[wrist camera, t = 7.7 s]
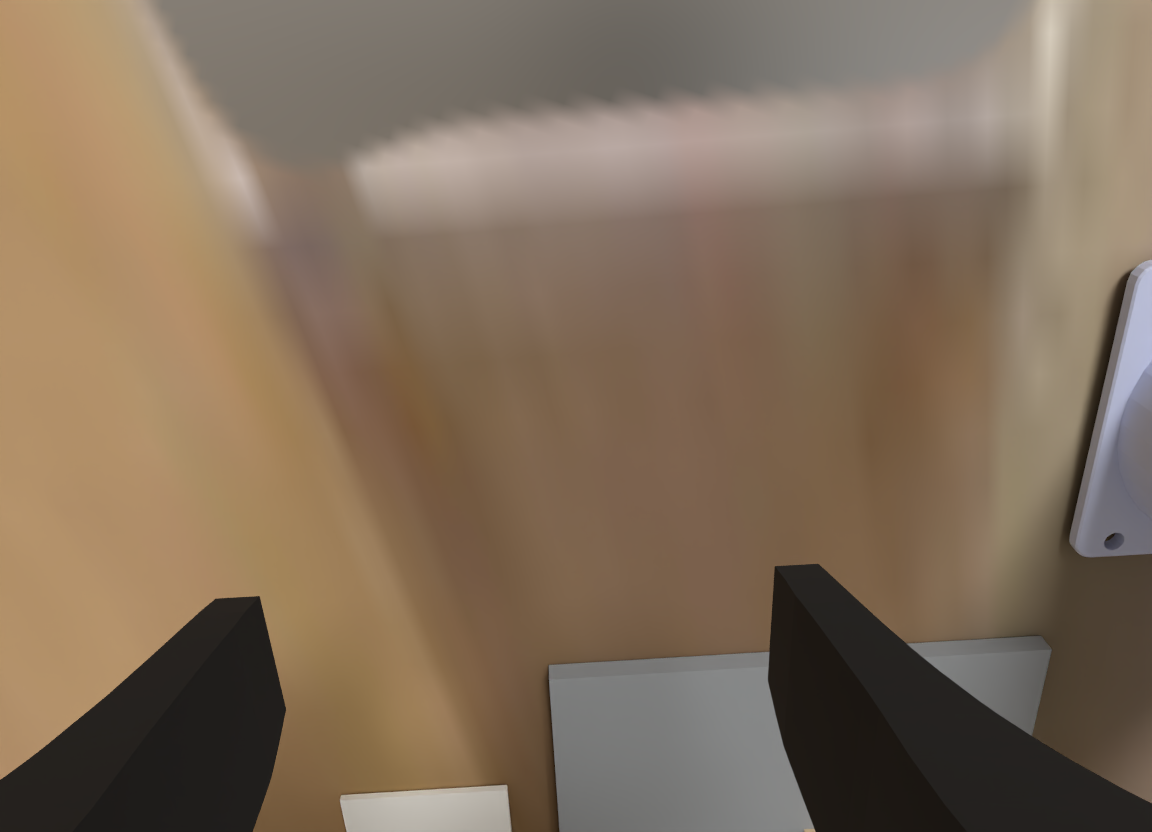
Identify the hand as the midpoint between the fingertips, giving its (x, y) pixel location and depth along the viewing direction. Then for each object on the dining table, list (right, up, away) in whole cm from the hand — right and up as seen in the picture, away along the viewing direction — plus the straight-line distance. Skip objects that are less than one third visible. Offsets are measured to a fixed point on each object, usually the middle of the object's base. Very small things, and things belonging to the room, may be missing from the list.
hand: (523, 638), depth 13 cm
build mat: (+7, -9, +16) cm, 19 cm away
